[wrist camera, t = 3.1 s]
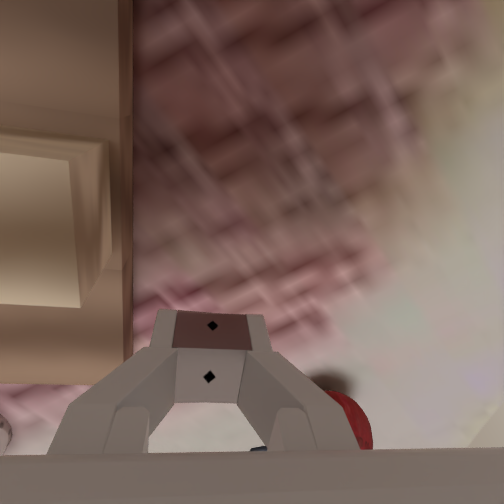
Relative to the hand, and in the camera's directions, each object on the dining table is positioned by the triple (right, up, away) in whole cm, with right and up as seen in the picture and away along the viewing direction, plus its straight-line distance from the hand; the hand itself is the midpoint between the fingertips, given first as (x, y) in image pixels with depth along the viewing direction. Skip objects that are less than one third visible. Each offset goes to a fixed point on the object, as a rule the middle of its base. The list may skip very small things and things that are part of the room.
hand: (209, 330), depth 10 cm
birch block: (-10, +5, +6) cm, 13 cm away
